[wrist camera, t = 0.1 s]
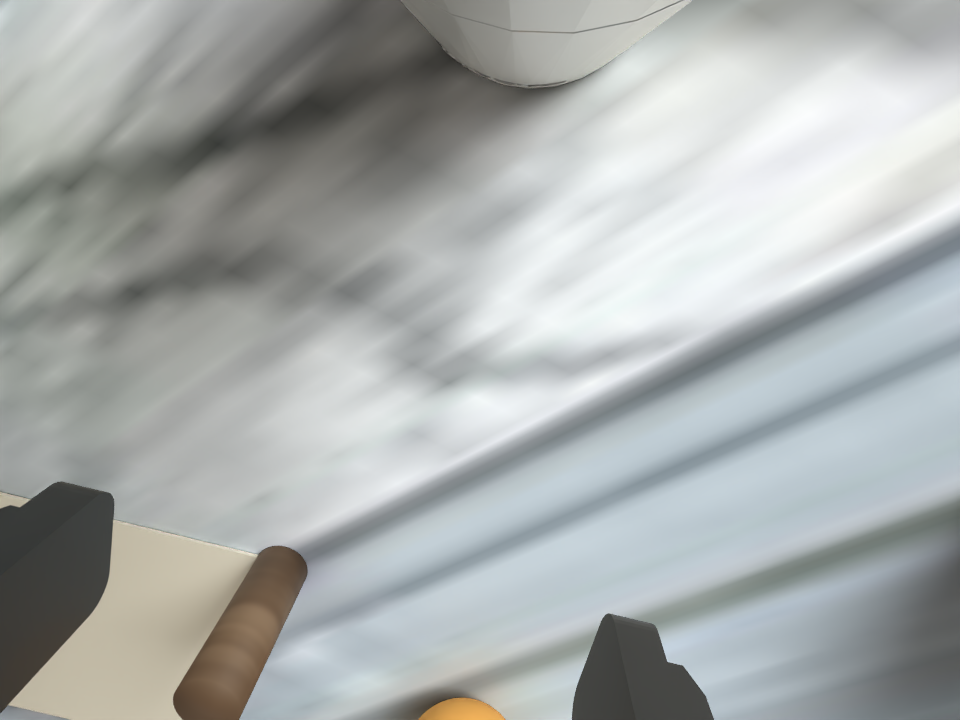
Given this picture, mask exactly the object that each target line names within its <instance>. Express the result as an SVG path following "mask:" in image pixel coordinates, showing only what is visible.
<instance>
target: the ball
mask: <svg viewBox="0 0 960 720" xmlns="http://www.w3.org/2000/svg"><path fill="white" fill-rule="evenodd" d="M418 720H505V719H504V717H503V716H502V715H501V714H500V713H499V712H498V711H497V710H495V709H494V708H492V707H491V706H490V705H488V704H486V703H484V702H482V701H479V700H476V699H471V698H452V699H448V700H445V701H442V702H440V703H438V704H436V705H434V706H433V707H431V708H430V709H428V710H427V711H426V712H425V713H424V714H423V715H422V716H421V717H420V718H419V719H418Z"/></svg>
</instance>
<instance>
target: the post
mask: <svg viewBox="0 0 960 720" xmlns="http://www.w3.org/2000/svg"><path fill="white" fill-rule="evenodd" d="M307 572H308V570H307V565H306V562H305V561H304V559H303V558H302V557H301V555H300V554H298V553H297V552H296V551H294V550H292V549H290V548H287V547H283V546H272V547H268V548H266V549H264V550H263V551H262V552H261V553H260V554H259V555H258V557H257V558H256V560H255V562H254V563H253V565H252V566H251V568H250V570H249V571H248V573H247V575H246V576H245V578H244V580H243V581H242V583H241V584H240V586H239V588H238V589H237V591H236V593H235V594H234V596H233V598H232V599H231V601H230V602H229V604H228V606H227V607H226V609H225V611H224V612H223V614H222V616H221V617H220V619H219V620H218V622H217V624H216V625H215V627H214V629H213V630H212V632H211V633H210V635H209V637H208V638H207V640H206V642H205V643H204V645H203V647H202V648H201V650H200V651H199V653H198V655H197V656H196V658H195V660H194V661H193V663H192V665H191V666H190V668H189V669H188V671H187V673H186V674H185V676H184V678H183V679H182V681H181V683H180V684H179V686H178V687H177V689H176V691H175V693H174V695H173V705H174V708H175V710H176V712H177V714H178V715H179V716H180V717H181V718H182V719H183V720H239V718H240V716H241V714H242V712H243V710H244V708H245V706H246V704H247V702H248V699H249V697H250V695H251V693H252V691H253V689H254V687H255V685H256V683H257V680H258V678H259V676H260V674H261V672H262V670H263V668H264V666H265V664H266V661H267V659H268V657H269V655H270V653H271V651H272V649H273V647H274V645H275V642H276V640H277V638H278V636H279V634H280V632H281V630H282V628H283V626H284V623H285V621H286V619H287V617H288V615H289V613H290V611H291V609H292V607H293V605H294V602H295V600H296V598H297V596H298V594H299V592H300V590H301V588H302V586H303V583H304V581H305V579H306V577H307Z"/></svg>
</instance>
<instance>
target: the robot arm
mask: <svg viewBox="0 0 960 720" xmlns="http://www.w3.org/2000/svg"><path fill="white" fill-rule="evenodd" d="M400 1H401V2H402V3H403V4H404V5H405V6H406V8H407V9H408V10H409V11H410V12H411V13H412V14H413V15H414V16H415V17H416V18H417V20H418V21H419V22H420V23H421V24H422V25H423V26H424V27H425V28H426V29H427V30H428V32H429V33H430V34H431V35H432V36H433V37H434V38H435V39H436V40H437V41H438V42H439V43H440V44H441V46H442V49H443V50H444V51H445V52H446V53H448V54H449V55H450V56H451V57H452V58H453V59H455V60H456V61H457V62H459V63H460V64H461V65H463V66H465V67H466V68H469V69H470V70H471V71H473V72H474V73H476V74H477V75H480V76H482V77H485V78H487V79H490V80H492V81H495V82H497V83H500V84H502V85H508V86H515V87H521V88H528V89H530V88H543V87H555V86H559V85H562V84H565V83H568V82H572V81H575V80H578V79H581V78H583V77H585V76H587V75H588V74H590V73H592V72H594V71H595V70H597V69H599V68H601V67H603V66H604V65H606V64H607V63H609V62H610V61H611V60H613V59H614V58H616V57H617V56H618V55H620V54H622V53H623V52H624V51H626V50H627V49H628V48H630V47H631V46H632V45H634V44H635V43H636V42H638V41H639V40H640V39H642V38H643V37H644V36H646V35H647V34H648V33H650V32H651V31H652V30H654V29H655V28H656V27H658V26H659V25H661V24H662V23H663V22H665V21H666V20H667V19H669V18H670V17H671V16H673V15H674V14H675V13H677V12H678V11H679V10H681V9H682V8H683V7H685V6H686V5H687V4H689V3H690V2H691V1H693V0H400ZM113 517H114V499H113V497H112V495H111V494H110V493H107V492H103V491H99V490H95V489H91V488H86V487H82V486H78V485H74V484H70V483H65V482H57V483H54V484H52V485H51V486H49V487H48V488H46V489H45V490H43V491H42V492H41V493H39V494H38V495H36V496H35V497H34V498H32V499H31V500H30V501H28V502H27V503H25V504H24V505H23V506H21V507H17V506H12V505H9V506H6V507H3V508H1V509H0V713H1V712H2V711H3V710H4V709H5V708H6V707H7V705H8V704H9V703H10V702H11V701H12V700H13V699H14V698H15V697H16V696H17V695H18V693H19V692H20V691H21V690H22V689H23V688H24V687H25V686H26V685H27V684H28V683H29V681H30V680H31V679H32V678H33V677H34V676H35V675H36V674H37V673H38V672H39V671H40V669H41V668H42V667H43V666H44V665H45V664H46V663H47V662H48V661H49V660H50V658H51V657H52V656H53V655H54V654H55V653H56V652H57V651H58V650H59V649H60V648H61V646H62V645H63V644H64V643H65V642H66V641H67V640H68V639H69V638H70V637H71V636H72V634H73V633H74V632H75V631H76V630H77V629H78V628H79V627H80V626H81V625H82V624H83V622H84V621H85V620H86V619H87V618H88V617H89V616H90V615H91V613H92V612H93V611H94V609H95V608H96V606H97V605H98V603H99V601H100V599H101V598H102V595H103V593H104V591H105V588H106V586H107V582H108V578H109V573H110V560H111V545H112V531H113ZM572 720H714V718H713V716H712V713H711V710H710V707H709V704H708V702H707V699H706V696H705V695H704V693H703V692H702V691H701V689H700V688H699V687H698V685H697V684H696V683H695V681H694V680H693V679H692V677H691V676H690V675H689V673H688V672H687V671H686V669H685V668H684V667H683V666H682V665H677V664H673V663H669V662H667V660H666V657H665V653H664V650H663V647H662V643H661V640H660V637H659V634H658V631H657V628H656V627H655V625H653V624H651V623H647V622H643V621H638V620H634V619H630V618H626V617H622V616H617V615H613V614H606V615H605V616H604V618H603V619H602V621H601V623H600V626H599V629H598V631H597V634H596V637H595V639H594V642H593V645H592V647H591V650H590V653H589V655H588V658H587V661H586V663H585V666H584V669H583V671H582V674H581V677H580V679H579V682H578V685H577V688H576V692H575V697H574V702H573V711H572Z"/></svg>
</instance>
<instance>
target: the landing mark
mask: <svg viewBox="0 0 960 720" xmlns="http://www.w3.org/2000/svg"><path fill="white" fill-rule="evenodd" d="M30 500H31V499H27V498H23V497H19V496H15V495H10V494H6V493H2V492H0V509H1V508H3V507H6V506H9V505H12V506H17V507H21V506H23V505H24V504H25V503H27V502H28V501H30ZM257 557H258V555H257V554H253V553H249V552H245V551H241V550H236V549H232V548H228V547H224V546H220V545H216V544H212V543H208V542H204V541H199V540H195V539H191V538H187V537H183V536H179V535H175V534H171V533H167V532H162V531H158V530H154V529H150V528H146V527H142V526H138V525H134V524H130V523H126V522H121V521H117V520H113V531H112V545H111V560H110V573H109V578H108V582H107V586H106V588H105V591H104V593H103V595H102V598H101V599H100V601H99V603H98V605H97V606H96V608H95V609H94V611H93V612H92V613H91V615H90V616H89V617H88V618H87V619H86V620H85V621H84V622H83V624H82V625H81V626H80V627H79V628H78V629H77V630H76V631H75V632H74V633H73V634H72V636H71V637H70V638H69V639H68V640H67V641H66V642H65V643H64V644H63V645H62V646H61V648H60V649H59V650H58V651H57V652H56V653H55V654H54V655H53V656H52V657H51V658H50V660H49V661H48V662H47V663H46V664H45V665H44V666H43V667H42V668H41V669H40V671H39V672H38V673H37V674H36V675H35V676H34V677H33V678H32V679H31V680H30V681H29V683H28V684H27V685H26V686H25V687H24V688H23V689H22V690H21V691H20V692H19V693H18V695H17V696H16V697H15V698H14V699H13V700H12V701H11V702H10V703H9V704H8V705H11V706H15V707H19V708H23V709H28V710H32V711H36V712H41V713H45V714H49V715H54V716H58V717H62V718H66V719H71V720H183V719H182V718H181V717H180V716H179V715H178V714H177V712H176V710H175V708H174V705H173V695H174V693H175V691H176V689H177V687H178V686H179V684H180V683H181V681H182V679H183V678H184V676H185V674H186V673H187V671H188V669H189V668H190V666H191V665H192V663H193V661H194V660H195V658H196V656H197V655H198V653H199V651H200V650H201V648H202V647H203V645H204V643H205V642H206V640H207V638H208V637H209V635H210V633H211V632H212V630H213V629H214V627H215V625H216V624H217V622H218V620H219V619H220V617H221V616H222V614H223V612H224V611H225V609H226V607H227V606H228V604H229V602H230V601H231V599H232V598H233V596H234V594H235V593H236V591H237V589H238V588H239V586H240V584H241V583H242V581H243V580H244V578H245V576H246V575H247V573H248V571H249V570H250V568H251V566H252V565H253V563H254V562H255V560H256V558H257Z"/></svg>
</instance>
